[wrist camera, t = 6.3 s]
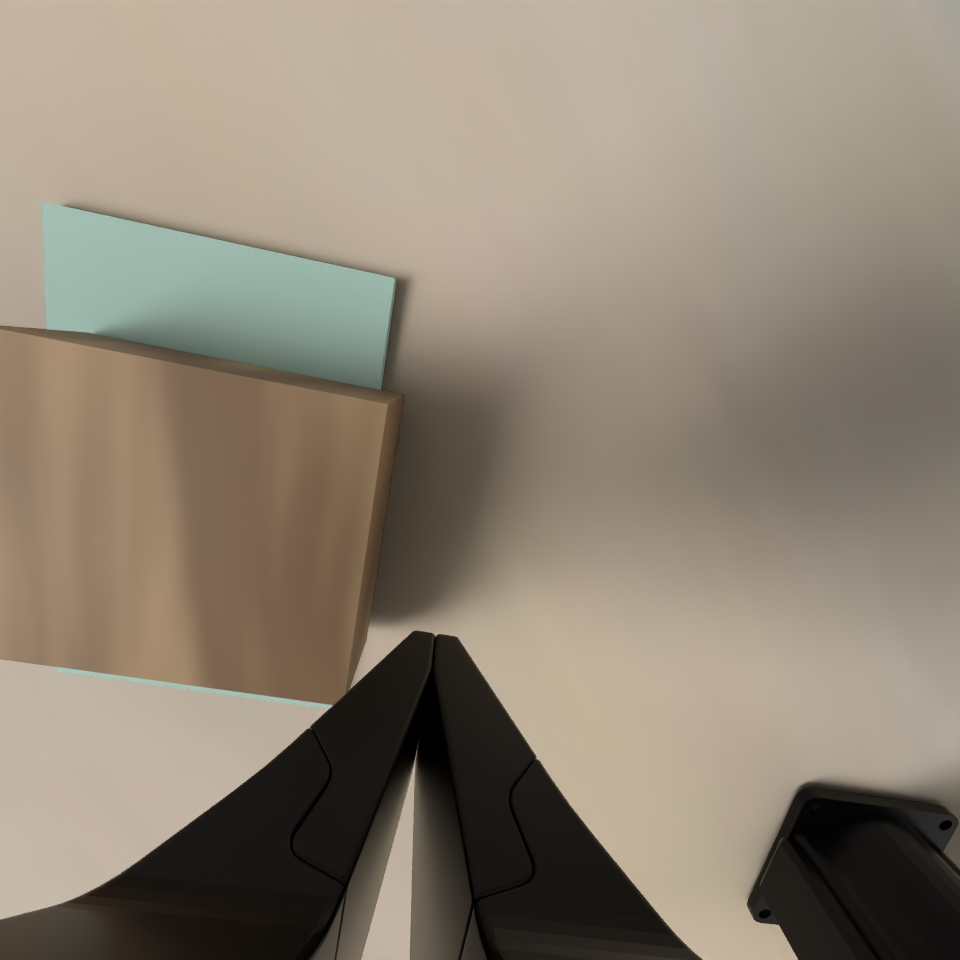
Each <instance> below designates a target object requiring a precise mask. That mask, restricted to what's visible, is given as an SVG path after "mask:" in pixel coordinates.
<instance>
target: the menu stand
mask: <svg viewBox="0 0 960 960" xmlns="http://www.w3.org/2000/svg"><path fill="white" fill-rule="evenodd" d="M403 401H404V394H399V393H394V392H389V391H383V390H378V389H373V388H368V387H363V386H358V385H353V384H348V383H343V382H337V381H332V380H327V379H322V378H317V377H312V376H307V375H302V374H297V373H292V372H286V371H281V370H276V369H271V368H266V367H261V366H256V365H251V364H246V363H240V362H235V361H230V360H225V359H220V358H215V357H210V356H205V355H200V354H195V353H189V352H184V351H179V350H174V349H169V348H164V347H159V346H154V345H149V344H143V343H138V342H133V341H128V340H123V339H118V338H113V337H108V336H103V335H98V334H92V333H87V332H76V331H63V330H50V329H37V328H24V327H11V326H0V659H3V660H10V661H18V662H25V663H32V664H39V665H47V666H54V667H61V668H68V669H75V670H83V671H90V672H97V673H104V674H112V675H119V676H126V677H133V678H140V679H148V680H155V681H162V682H169V683H177V684H184V685H191V686H198V687H205V688H213V689H220V690H227V691H234V692H241V693H249V694H256V695H263V696H270V697H278V698H285V699H292V700H299V701H306V702H314V703H321V704H328V705H334V704H335V703H336V702H337V701H338V700H339V699H341V698H342V697H343V696H344V695H345V694H346V693H347V692H348V691H349V688H350V685H351V682H352V680H353V677H354V674H355V671H356V668H357V665H358V662H359V659H360V657H361V654H362V651H363V648H364V645H365V642H366V639H367V633H368V626H369V620H370V614H371V607H372V601H373V594H374V588H375V581H376V575H377V569H378V562H379V556H380V549H381V543H382V536H383V530H384V524H385V517H386V511H387V504H388V498H389V491H390V485H391V479H392V472H393V466H394V459H395V453H396V446H397V440H398V434H399V427H400V421H401V414H402V408H403Z"/></svg>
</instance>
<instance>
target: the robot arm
mask: <svg viewBox="0 0 960 960" xmlns="http://www.w3.org/2000/svg"><path fill="white" fill-rule="evenodd" d="M417 746H418V747H417ZM416 751H417V755H416ZM415 757H416V765H415V788H414V825H413V862H412V899H411V935H410V960H703V959H701V958H700V957H699V956H698V955H697V954H695V953H694V952H693V951H692V950H691V949H690V948H689V947H688V946H687V945H686V944H685V943H684V942H683V941H682V940H681V939H680V938H679V937H678V936H677V935H676V934H675V933H674V932H673V931H672V930H671V928H670V927H669V926H668V925H667V924H666V923H665V922H664V920H663V919H662V918H661V917H660V916H659V914H658V913H657V912H656V911H655V910H654V908H653V907H652V906H651V905H650V903H649V902H648V901H647V900H646V899H645V897H644V896H643V895H642V894H641V892H640V891H639V890H638V889H637V888H636V886H635V885H634V884H633V883H632V881H631V880H630V879H629V878H628V877H627V875H626V874H625V873H624V872H623V870H622V869H621V868H620V867H619V866H618V864H617V863H616V862H615V861H614V860H613V858H612V857H611V856H610V855H609V853H608V852H607V851H606V850H605V849H604V847H603V846H602V845H601V844H600V842H599V841H598V840H597V839H596V838H595V836H594V835H593V834H592V832H591V831H590V830H589V829H588V827H587V826H586V825H585V824H584V822H583V821H582V820H581V818H580V817H579V816H578V815H577V813H576V812H575V811H574V810H573V808H572V807H571V806H570V804H569V803H568V801H567V800H566V799H565V797H564V796H563V794H562V793H561V792H560V790H559V789H558V787H557V786H556V784H555V783H554V782H553V780H552V779H551V777H550V776H549V774H548V773H547V771H546V770H545V768H544V767H543V765H542V764H541V762H540V761H539V760H537V758H536V755H535V754H534V752H533V751H532V749H531V748H530V746H529V744H528V743H527V741H526V740H525V738H524V737H523V735H522V734H521V732H520V731H519V729H518V728H517V726H516V725H515V723H514V722H513V720H512V719H511V717H510V716H509V714H508V713H507V711H506V710H505V708H504V707H503V705H502V704H501V702H500V701H499V699H498V698H497V696H496V695H495V693H494V692H493V690H492V689H491V687H490V686H489V684H488V683H487V681H486V680H485V678H484V676H483V675H482V673H481V672H480V670H479V669H478V667H477V666H476V664H475V663H474V661H473V660H472V658H471V657H470V655H469V654H468V652H467V651H466V649H465V648H464V646H463V645H462V643H461V642H460V640H459V639H458V638H457V637H455V636H449V635H442V634H438V635H437V636H436V637H435V635H434V634H433V633H429V632H423V631H413V632H412V633H411V634H410V635H409V636H408V637H407V638H405V639H404V640H403V641H402V642H401V643H400V644H399V645H398V646H397V647H396V648H395V649H394V650H392V651H391V652H390V653H389V654H388V655H387V656H386V657H385V658H384V659H383V660H382V661H381V662H379V663H378V664H377V665H376V666H375V667H374V668H373V669H372V670H371V671H370V672H369V673H368V674H366V675H365V676H364V677H363V678H362V679H361V680H360V681H359V682H358V683H357V684H356V685H355V686H354V687H352V688H351V689H350V690H349V691H348V692H347V693H346V694H345V695H344V696H343V697H342V698H341V699H339V700H338V701H337V702H336V703H335V704H334V705H333V706H332V707H331V708H330V709H329V710H328V711H326V712H325V713H324V714H323V715H322V716H321V717H320V718H319V719H318V720H317V721H316V722H315V723H313V724H312V725H311V726H310V729H307V730H305V731H304V732H303V733H302V734H301V735H300V736H299V737H298V738H297V739H296V740H295V741H294V742H293V743H291V744H290V745H289V746H288V747H287V748H286V749H285V750H283V751H282V752H281V753H280V754H279V755H278V756H277V757H275V758H274V759H273V760H272V761H271V762H270V763H268V764H267V765H266V766H265V767H264V768H262V769H261V770H260V771H258V772H257V773H256V774H255V775H253V776H252V777H251V778H249V779H248V780H247V781H246V782H244V783H243V784H242V785H240V786H239V787H238V788H237V789H235V790H234V791H233V792H231V793H230V794H229V795H227V796H226V797H225V798H223V799H222V800H221V801H219V802H218V803H216V804H215V805H214V806H212V807H211V808H210V809H208V810H207V811H206V812H204V813H203V814H202V815H200V816H199V817H198V818H196V819H195V820H193V821H192V822H191V823H189V824H188V825H187V826H185V827H184V828H183V829H181V830H180V831H179V832H177V833H176V834H174V835H173V836H172V837H170V838H169V839H168V840H166V841H165V842H164V843H162V844H161V845H160V846H158V847H157V848H156V849H154V850H153V851H151V852H150V853H149V854H147V855H146V856H145V857H143V858H142V859H141V860H139V861H138V862H136V863H135V864H134V865H132V866H131V867H129V868H128V869H126V870H125V871H123V872H122V873H121V874H119V875H117V876H116V877H114V878H112V879H111V880H109V881H107V882H106V883H104V884H102V885H101V886H99V887H97V888H95V889H93V890H91V891H89V892H87V893H85V894H83V895H81V896H79V897H77V898H74V899H72V900H69V901H67V902H64V903H61V904H58V905H55V906H51V907H48V908H44V909H40V910H36V911H32V912H28V913H24V914H21V915H17V916H13V917H9V918H5V919H1V920H0V960H361V958H362V954H363V951H364V947H365V943H366V940H367V936H368V932H369V929H370V925H371V921H372V918H373V914H374V910H375V907H376V903H377V899H378V896H379V892H380V888H381V885H382V881H383V877H384V874H385V870H386V866H387V863H388V859H389V855H390V852H391V848H392V844H393V841H394V837H395V833H396V830H397V826H398V822H399V819H400V815H401V811H402V808H403V804H404V800H405V797H406V793H407V789H408V786H409V782H410V778H411V774H412V770H413V766H414V762H415ZM957 826H958V819H957V818H956V817H955V816H954V815H953V814H952V813H951V812H950V811H949V810H948V809H946V808H945V807H944V806H940V805H933V804H926V803H918V802H911V801H903V800H896V799H889V798H881V797H874V796H867V795H859V794H852V793H844V792H837V791H830V790H822V789H815V788H806V789H803V790H801V791H800V792H799V793H797V795H796V796H795V798H794V800H793V803H792V805H791V807H790V809H789V811H788V814H787V816H786V818H785V820H784V822H783V825H782V827H781V829H780V831H779V833H778V836H777V838H776V840H775V842H774V844H773V847H772V849H771V851H770V853H769V855H768V858H767V860H766V862H765V864H764V866H763V869H762V871H761V873H760V875H759V877H758V880H757V882H756V884H755V886H754V888H753V891H752V893H751V895H750V897H749V899H748V902H747V907H748V909H749V911H750V913H751V915H752V917H753V919H754V920H755V921H757V922H760V923H767V924H776V925H779V926H780V928H781V929H782V931H783V933H784V935H785V937H786V938H787V940H788V942H789V944H790V945H791V947H792V949H793V951H794V953H795V954H796V956H797V958H798V960H960V869H959V868H958V867H957V866H956V865H955V864H954V863H953V862H952V861H951V860H950V859H949V858H948V857H947V855H946V854H945V853H944V852H943V851H944V849H945V847H946V845H947V844H948V842H949V840H950V838H951V837H952V835H953V833H954V832H955V830H956V828H957Z"/></svg>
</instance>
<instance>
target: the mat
mask: <svg viewBox="0 0 960 960" xmlns="http://www.w3.org/2000/svg"><path fill="white" fill-rule="evenodd" d="M42 218H43V251H44V284H45V317H46V329H50V330H63V331H76V332H87V333H92V334H98V335H103V336H108V337H113V338H118V339H123V340H128V341H133V342H138V343H143V344H149V345H154V346H159V347H164V348H169V349H174V350H179V351H184V352H189V353H195V354H200V355H205V356H210V357H215V358H220V359H225V360H230V361H235V362H240V363H246V364H251V365H256V366H261V367H266V368H271V369H276V370H281V371H286V372H292V373H297V374H302V375H307V376H312V377H317V378H322V379H327V380H332V381H337V382H343V383H348V384H353V385H358V386H363V387H368V388H373V389H378V390H381V388H382V381H383V374H384V367H385V360H386V353H387V346H388V339H389V332H390V325H391V318H392V311H393V304H394V297H395V290H396V283H397V280H396V279H395V278H393V277H388V276H383V275H379V274H374V273H370V272H365V271H360V270H356V269H351V268H346V267H342V266H337V265H333V264H328V263H323V262H319V261H314V260H309V259H305V258H300V257H296V256H291V255H286V254H282V253H277V252H273V251H268V250H263V249H259V248H254V247H249V246H245V245H240V244H236V243H231V242H226V241H222V240H217V239H212V238H208V237H203V236H199V235H194V234H189V233H185V232H180V231H176V230H171V229H166V228H162V227H157V226H152V225H148V224H143V223H139V222H134V221H129V220H125V219H120V218H115V217H111V216H106V215H102V214H97V213H92V212H88V211H83V210H78V209H74V208H69V207H65V206H60V205H55V204H51V203H46V202H42ZM56 671H57V672H65V673H72V674H79V675H86V676H94V677H101V678H108V679H115V680H123V681H130V682H137V683H144V684H152V685H159V686H166V687H173V688H181V689H188V690H195V691H202V692H210V693H217V694H224V695H231V696H239V697H246V698H253V699H260V700H268V701H275V702H282V703H289V704H297V705H304V706H311V707H319V708H326V709H330V708H331V707H332V706H333V705H328V704H321V703H314V702H306V701H299V700H292V699H285V698H278V697H270V696H263V695H256V694H249V693H241V692H234V691H227V690H220V689H213V688H205V687H198V686H191V685H184V684H177V683H169V682H162V681H155V680H148V679H140V678H133V677H126V676H119V675H112V674H104V673H97V672H90V671H83V670H75V669H68V668H61V667H56Z"/></svg>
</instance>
